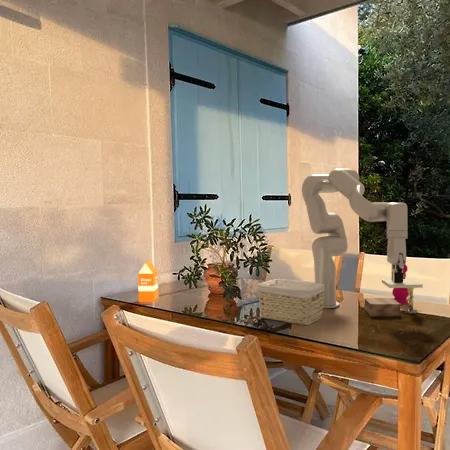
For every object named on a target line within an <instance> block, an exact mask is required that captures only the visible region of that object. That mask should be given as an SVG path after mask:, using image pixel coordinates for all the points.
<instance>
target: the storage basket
mask: <svg viewBox="0 0 450 450" xmlns="http://www.w3.org/2000/svg"><path fill="white" fill-rule="evenodd" d="M324 286H325V285H324V284H319V283H315V282H311V281H303V280H302V281H301V280H294V279H285V278H282V279H281V278H275V279H271V280H270V279H269V280H267V281H263V282H260V283H258V284H257V288H256V289H257V292H258V298H259V300H258V301H259V303H258V304H259V311H260V317H261V318H262V319H267V320H273V321H280V322H285V323H288V324H297V325H303V326H309V325H311V324H313V323H315V322H317V321H319V320H321V319H322V317H323V309H324V308H323V293H324V290H325V287H324Z"/></svg>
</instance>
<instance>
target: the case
mask: <svg viewBox="0 0 450 450" xmlns="http://www.w3.org/2000/svg"><path fill="white" fill-rule="evenodd" d="M363 301H364V304H363V305H364V307H363V310H364V311H365V312H366V313H367V315H369V317H402V314H401V304H400V303H398V302H397V301H396V300H395V299H394V297H364V300H363Z"/></svg>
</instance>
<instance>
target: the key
mask: <svg viewBox="0 0 450 450" xmlns="http://www.w3.org/2000/svg"><path fill="white" fill-rule="evenodd" d="M414 290H415V288H408V292H409V295H408V297H407V301H408V309H409V310H413V309H414Z"/></svg>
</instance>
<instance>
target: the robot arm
mask: <svg viewBox="0 0 450 450" xmlns="http://www.w3.org/2000/svg"><path fill="white" fill-rule="evenodd" d="M338 192H339V193H340V194H341V195H342V196H343V197H345V198H346V200H348V203H349V206H350V208H351V210H352V211H353V212H354V213H355V214H356V215H358V217H359V218H361V219H362V220H364V221H366V222H371V223H372V222H373V223H374V222H386V239H387V249H386V251H387V254H386V261H387V263H389V264H391V270H392V269H395V272H394V282H395V283H403V267H404V264H406V265H407V245H406V243H407V242H406V239H407V240H408V205H407V203H405V202H384V201H383V202H382V201H381V202H380V201H379V202H378V201H377V202H376V201H375V202H372V201H370V200H368V199H367V198H365V197H364V196H363V195H364V194H365V186H364V184H363V183H362V182H360V174H358V171H356V170H355V169H354V168H353V169H352V168H335V169H332V170H331V171H330V172H329V174H325V173H324V174H323V173H322V174H321V173H320V174H319V173H318V174H316V173H315V174H310V175H308V176H307V177H306V178H305V179H304V180H303V182H302V186H301V193H302V198H303V201H304V203H305V206H306V211H307V217H308V221H309V226H310V230H311V232H312V233H313V234H316V235H326V236H319V237H317V238H316V239H314V240H313V242H312V243H311V244H312V245H311V252H312V257H313V265H314V266H313V269H314V283H319V284H324V285H325V286H324V287H325V290H324V293H323V308H322V309H337V308H339V307H340V305H341V304H340V302H338V301H337V269H336V264H335V260H334V258H333V257H339V256H343V255H344V254H346V252H347V251H348V249H349V247H348V244H349V243H348V239H347V236H346V231H345V226H344V222H343V219H342V217H340V215H339V214H337V213H334V212H328V210H327V206H326V204H325V201H324V199H323V197H322V196H321V195H320V194H321V193H322V194H326V193H327V194H333V193H338ZM391 279H392V281H393V274H392V273H391Z"/></svg>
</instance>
